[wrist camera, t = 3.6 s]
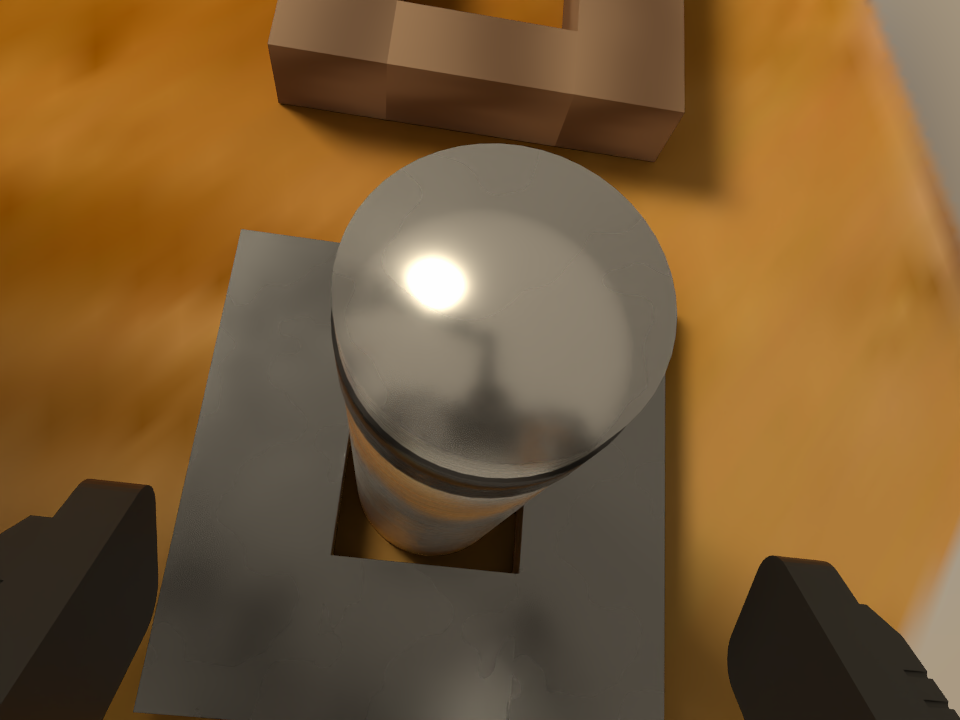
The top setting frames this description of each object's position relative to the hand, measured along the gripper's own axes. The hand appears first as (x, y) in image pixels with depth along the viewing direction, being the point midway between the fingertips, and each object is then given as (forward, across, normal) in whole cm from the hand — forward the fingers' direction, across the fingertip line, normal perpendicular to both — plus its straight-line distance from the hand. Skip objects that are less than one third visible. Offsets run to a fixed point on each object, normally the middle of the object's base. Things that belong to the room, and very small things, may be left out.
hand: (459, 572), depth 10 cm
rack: (+20, 0, -7) cm, 21 cm away
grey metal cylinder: (+9, 0, +5) cm, 10 cm away
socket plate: (+9, 0, +5) cm, 10 cm away
